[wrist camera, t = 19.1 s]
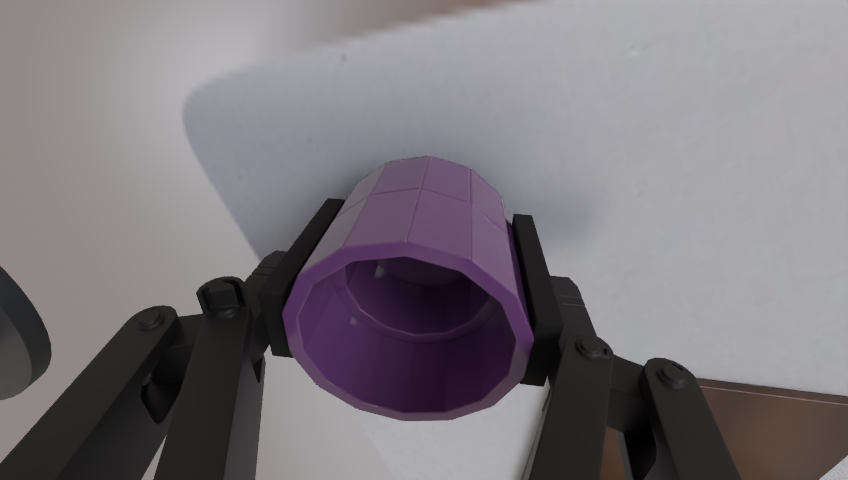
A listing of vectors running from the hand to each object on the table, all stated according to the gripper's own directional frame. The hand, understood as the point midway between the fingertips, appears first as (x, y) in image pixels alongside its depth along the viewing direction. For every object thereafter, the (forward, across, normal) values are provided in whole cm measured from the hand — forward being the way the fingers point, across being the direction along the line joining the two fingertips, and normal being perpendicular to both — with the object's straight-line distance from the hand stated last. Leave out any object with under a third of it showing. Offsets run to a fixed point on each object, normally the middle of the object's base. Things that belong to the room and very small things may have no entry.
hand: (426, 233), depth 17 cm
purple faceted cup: (0, 0, 0) cm, 0 cm away
